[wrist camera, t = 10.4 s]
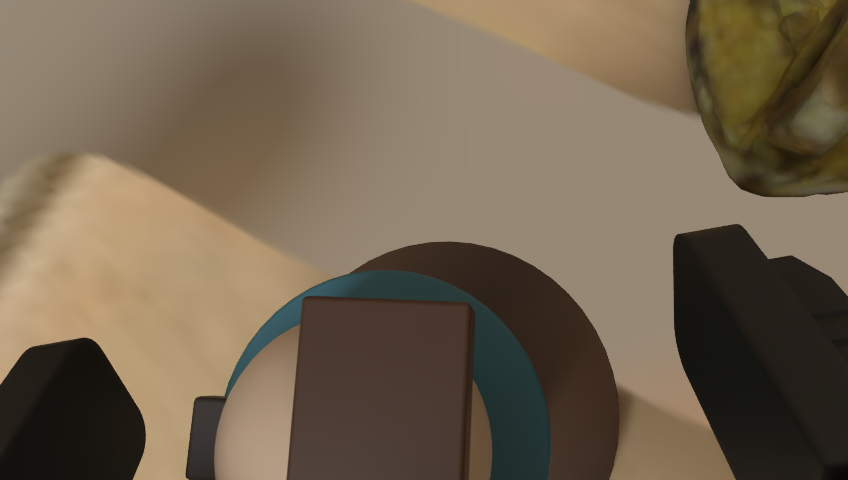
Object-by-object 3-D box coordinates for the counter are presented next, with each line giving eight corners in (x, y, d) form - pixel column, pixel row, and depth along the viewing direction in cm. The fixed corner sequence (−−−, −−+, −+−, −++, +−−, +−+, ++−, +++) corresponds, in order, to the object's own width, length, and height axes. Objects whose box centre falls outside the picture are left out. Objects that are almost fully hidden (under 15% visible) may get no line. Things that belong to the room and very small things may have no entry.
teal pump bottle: (534, 325, 17) (573, 229, 6) (529, 509, 16) (566, 777, 5) (357, 316, 18) (108, 216, 7) (344, 494, 17) (36, 706, 6)
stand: (661, 329, 18) (674, 324, 17) (531, 641, 17) (533, 665, 16) (377, 205, 20) (366, 191, 18) (242, 482, 19) (220, 490, 17)
